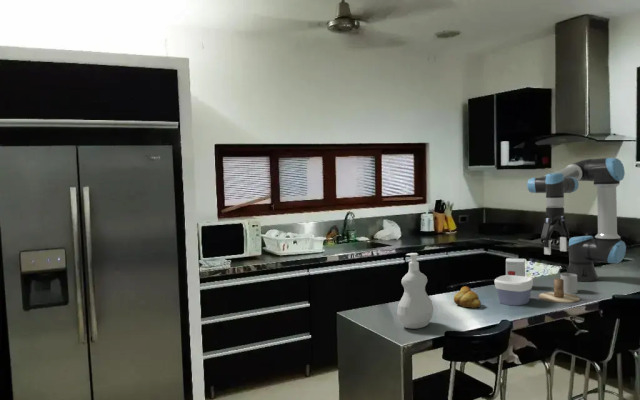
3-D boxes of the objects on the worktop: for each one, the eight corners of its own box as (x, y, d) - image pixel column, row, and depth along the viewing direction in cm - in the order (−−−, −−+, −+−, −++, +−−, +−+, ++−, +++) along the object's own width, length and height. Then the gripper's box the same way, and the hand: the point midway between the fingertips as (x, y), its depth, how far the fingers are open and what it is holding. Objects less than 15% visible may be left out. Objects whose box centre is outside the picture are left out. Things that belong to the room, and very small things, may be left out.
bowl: (505, 296, 236) (504, 273, 235) (537, 301, 225) (537, 277, 224) (490, 303, 225) (489, 279, 224) (523, 309, 214) (523, 283, 213)
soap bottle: (419, 318, 206) (417, 249, 205) (441, 324, 197) (438, 252, 196) (390, 327, 197) (388, 254, 195) (411, 334, 187) (409, 257, 186)
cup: (557, 293, 238) (557, 274, 238) (568, 289, 244) (568, 271, 244) (572, 295, 232) (572, 277, 232) (583, 292, 238) (583, 273, 238)
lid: (552, 292, 238) (552, 274, 238) (587, 298, 224) (587, 279, 223) (531, 297, 229) (530, 279, 229) (565, 305, 215) (565, 285, 214)
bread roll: (485, 307, 218) (485, 290, 218) (468, 311, 215) (467, 292, 215) (467, 301, 230) (466, 284, 230) (449, 304, 227) (449, 287, 226)
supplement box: (506, 290, 248) (505, 261, 247) (506, 286, 256) (505, 258, 256) (525, 291, 245) (524, 261, 244) (525, 287, 253) (524, 258, 252)
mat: (548, 292, 240) (548, 291, 240) (593, 300, 222) (593, 299, 222) (525, 298, 231) (525, 297, 231) (570, 308, 212) (570, 306, 212)
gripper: (561, 205, 235) (561, 248, 236) (532, 208, 221) (532, 254, 221) (576, 205, 229) (577, 250, 230) (548, 208, 215) (548, 256, 215)
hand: (555, 252), depth 226 cm, fingers open, 13 cm apart
